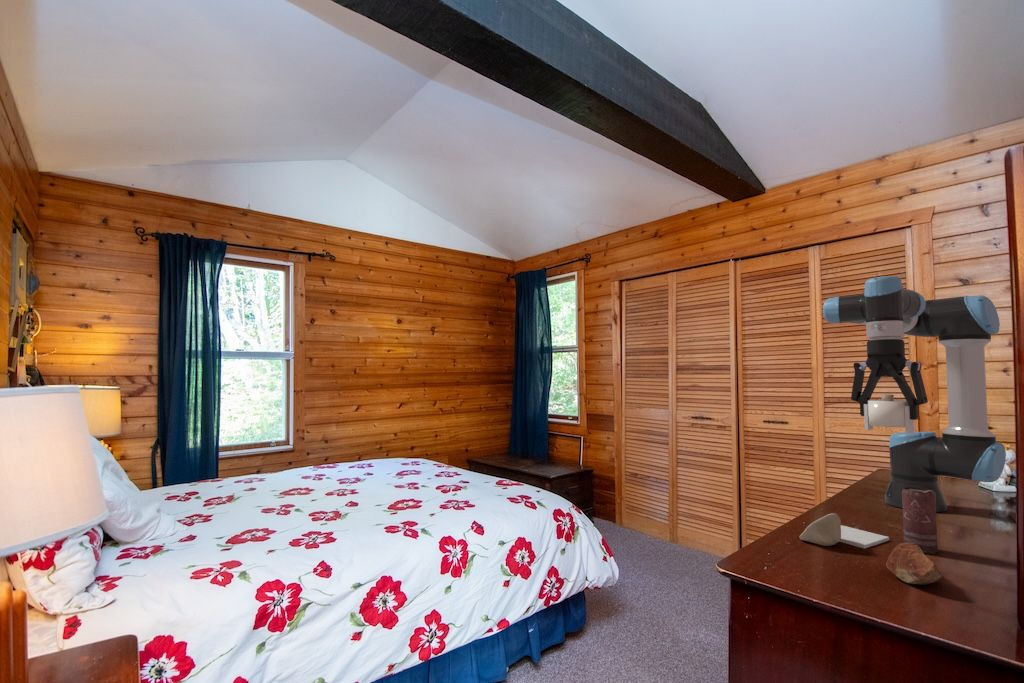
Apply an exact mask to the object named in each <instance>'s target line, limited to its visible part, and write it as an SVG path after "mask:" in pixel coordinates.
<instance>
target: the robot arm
mask: <svg viewBox="0 0 1024 683" xmlns="http://www.w3.org/2000/svg"><path fill="white" fill-rule="evenodd" d="M822 314H823V318H824V319H825V321H827V323H829V324H842V323H843V324H845V323H846V324H847V323H849V324H850V323H851V324H855V325H856V324H857V325H862V326H863V325H864V326H865V327H866V328H865V331H866V332H865V334H866V338H867V339H869V340H867V342H866V356H867V359H866V360H865V361H863V362H862V361H861V362H854V363H853V369H854V376H853V383H852V388H851V389H852V390H851V395H850V396H851V397H850V400H851V401H853V402H856V403H858V404H859V410H860V411H859V414H860V416H861V417H863V420H864V431H874V426H872V425H869V417H868V400H871V398H872V396H873V393H874V392H875V391H874V390H875V389H876V386H877V385H878V382H879V381H880V379H881V378H883V377H884V378H885V377H887V378H889V377H892V379H893V380H894V381H895V382H896V384H897V386H898V388H899V389H900V391H901V393H902V395H903V397H904V399H905V401H907V403H908V404H907V405H908V406H905V427H904V428H905V431H904V432H902V431H901V432H894V433H892V434H891V435H890V437H889V446H888V449H889V467H890V469H889V470H890V480H889V482H888V485H887V489H886V491H885V494H884V502H885V504H887V505H890V506H892V507H896V508H899V509H903V506H902V491H903V489H904V488H907V487H911V488H921V489H927V490H932V491H934V492H935V495H936V513H942V512H943V513H944V512H946V511H948V508H947V507H948V505H947V501H946V498H945V496H944V494H943V492H942V489H941V486H940V484H939V478H938V476H939V477H945V478H946V477H947V478H953V479H960V480H967V481H972V482H974V483H975V482H982V483H983V482H984V483H994V482H997V481H998V479H1000V478H1001V475H1002V474H1003V471H1004V468H1005V464H1006V456H1007V455H1006V454H1007V452H1006V446H1005V445H1004V443H1002V442H999V441H997V439H996V438H997V437H996V434H994V433H993V432H992V431H990V429H989V427H988V426H989V425H988V423H989V422H988V405H987V404H988V403H987V402H988V400H987V381H986V380H987V378H986V356H985V347H986V346H987V345H988V344H989V343H991V342H992V336H993V335H996V334H998V333H999V331H1000V326H1001V324H1000V317H999V313H998V311H997V309H996V306H995V304H994V303H993V301H992V300H991V299H990V298H989V297H987V296H985V295H963V296H956V297H955V296H954V297H947V298H939V299H926V298H925V297H924V295H922V294H921V293H919V292H916V291H915V290H912V289H910V288H909V289H907V288H906V289H905V288H904V285H903V283H902V279H901V278H900V277H899V276H895V275H894V276H893V275H892V276H890V275H888V276H887V275H885V276H878V277H872V278H869V279H867V280H866V281H865V282H864V293H862V294H861V293H860V294H852V295H843V296H842V295H841V296H839V295H838V296H835V297H834V296H833V297H830V298H827V299H826V300H824V303H823V306H822ZM906 335H907V336H912V337H921V338H936V337H937V338H938V343H939V344H940V345H942V346H944V348H945V363H946V364H945V365H946V366H945V367H946V368H945V369H946V371H945V372H946V390H947V391H946V392H947V393H946V394H947V396H946V397H947V413H948V414H947V418H948V419H947V421H948V427H947V428H945V429H944V430H943V431H942V433H941V436H942V437H941V436H940V437H939V436H938V435H937V433H936V432H935V431H915V420H919V406H920V405H924V404H928V402H929V399H928V396H927V392H926V389H925V384H924V380H923V377H922V372H921V370H922V365H923V364H922V362H920V361H909V360H907V358H906V349H905V348H906V346H905V340H904V339H902V338H904V337H905V336H906ZM867 367H868V369H869V370H870V373H869V376H868V379H867V382H866V384H865V386H864V380H865V371H866V370H867ZM905 367H907V369H908V371H909V373H910V377H911V382H912V386H913V389H914V392H913V390H912V389H911V387H910V385H909V383H908V381H907V379H906V377H905V374H904V372H903V370H904V369H905ZM863 386H864V389H863ZM914 393H915V394H914Z"/></svg>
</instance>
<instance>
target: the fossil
mask: <svg viewBox="0 0 1024 683" xmlns="http://www.w3.org/2000/svg"><path fill="white" fill-rule="evenodd" d="M926 555H927V554H924V552H923V551H922V550H921V548H920V547H919V546H918V545H917V544H915V543H908V542H907V543H904V542H900V543H898V544H897V545H896V546H895V547H894V548H893V549H892V551H891V552H890V554H889V555H888V558H887V560H886V563H885V566H886V569H888V570H890V572H891V574H893V575H895V577H896V578H898V579H899V580H901V581H902V582H904V583H907V584H911V585H930V584H933V583H935V582H938V581H939V580H941V579H942V578H943V574H942V573H941V572H940V571H939V569H938V566H937V565H936V564H935V563H934V562H933V561H932V560H931V559H930V558H929V557H928V556H926Z"/></svg>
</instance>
